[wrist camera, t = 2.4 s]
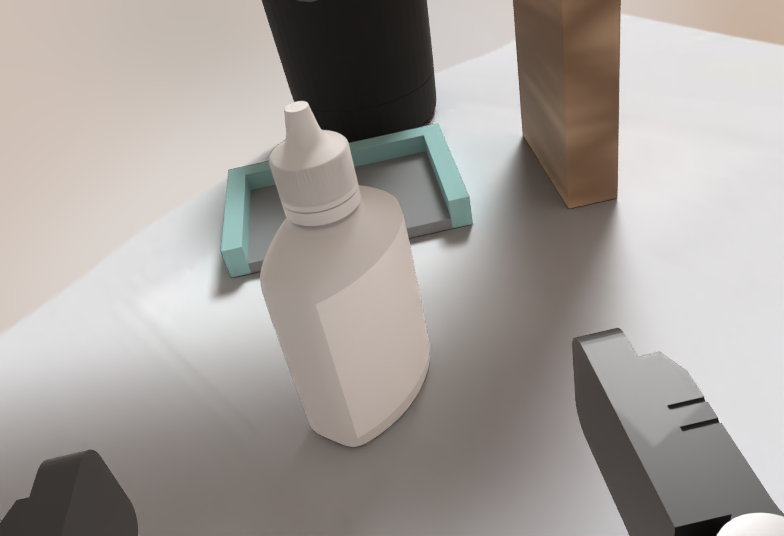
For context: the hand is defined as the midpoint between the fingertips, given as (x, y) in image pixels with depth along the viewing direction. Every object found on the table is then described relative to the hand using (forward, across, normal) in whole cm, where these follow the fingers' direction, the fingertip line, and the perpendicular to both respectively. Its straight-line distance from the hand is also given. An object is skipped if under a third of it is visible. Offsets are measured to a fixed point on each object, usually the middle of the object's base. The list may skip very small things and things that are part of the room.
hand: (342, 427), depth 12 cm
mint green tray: (+24, 0, +11) cm, 27 cm away
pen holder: (+35, -2, +11) cm, 37 cm away
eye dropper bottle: (+12, 0, +11) cm, 16 cm away
